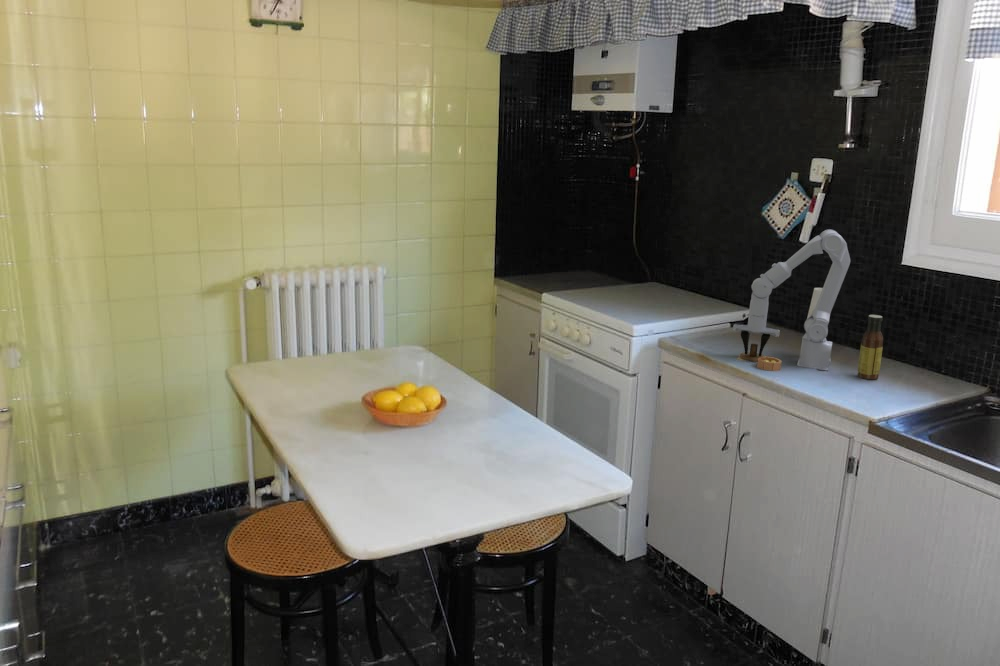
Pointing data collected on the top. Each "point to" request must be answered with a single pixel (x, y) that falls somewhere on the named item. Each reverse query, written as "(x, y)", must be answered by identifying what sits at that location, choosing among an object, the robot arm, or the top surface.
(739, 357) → the mat
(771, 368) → the bowl
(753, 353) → the lid
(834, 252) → the robot arm
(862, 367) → the sauce bottle
